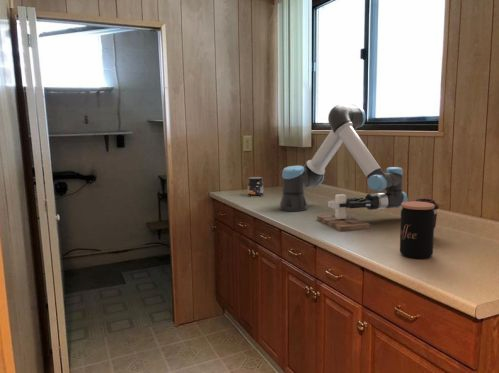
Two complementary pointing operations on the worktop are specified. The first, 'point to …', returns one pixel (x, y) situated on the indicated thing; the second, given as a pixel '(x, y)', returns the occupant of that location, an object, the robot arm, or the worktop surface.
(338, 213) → the fader tab
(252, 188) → the supplement container
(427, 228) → the coffee jar
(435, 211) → the coffee cup
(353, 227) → the board
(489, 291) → the worktop surface
